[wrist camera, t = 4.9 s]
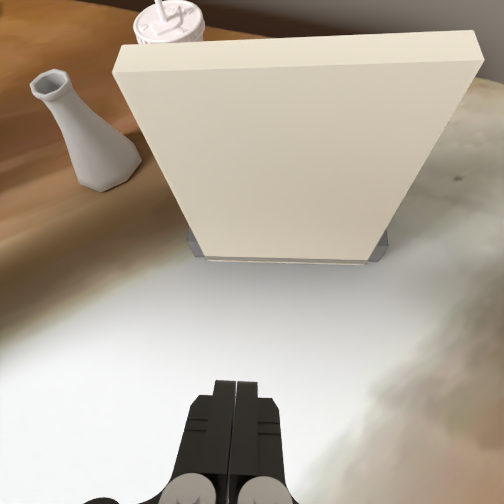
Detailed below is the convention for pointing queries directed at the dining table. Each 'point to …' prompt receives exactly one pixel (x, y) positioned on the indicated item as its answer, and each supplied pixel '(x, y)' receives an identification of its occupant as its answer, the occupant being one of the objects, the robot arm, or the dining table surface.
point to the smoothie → (170, 23)
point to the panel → (295, 134)
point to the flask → (87, 134)
